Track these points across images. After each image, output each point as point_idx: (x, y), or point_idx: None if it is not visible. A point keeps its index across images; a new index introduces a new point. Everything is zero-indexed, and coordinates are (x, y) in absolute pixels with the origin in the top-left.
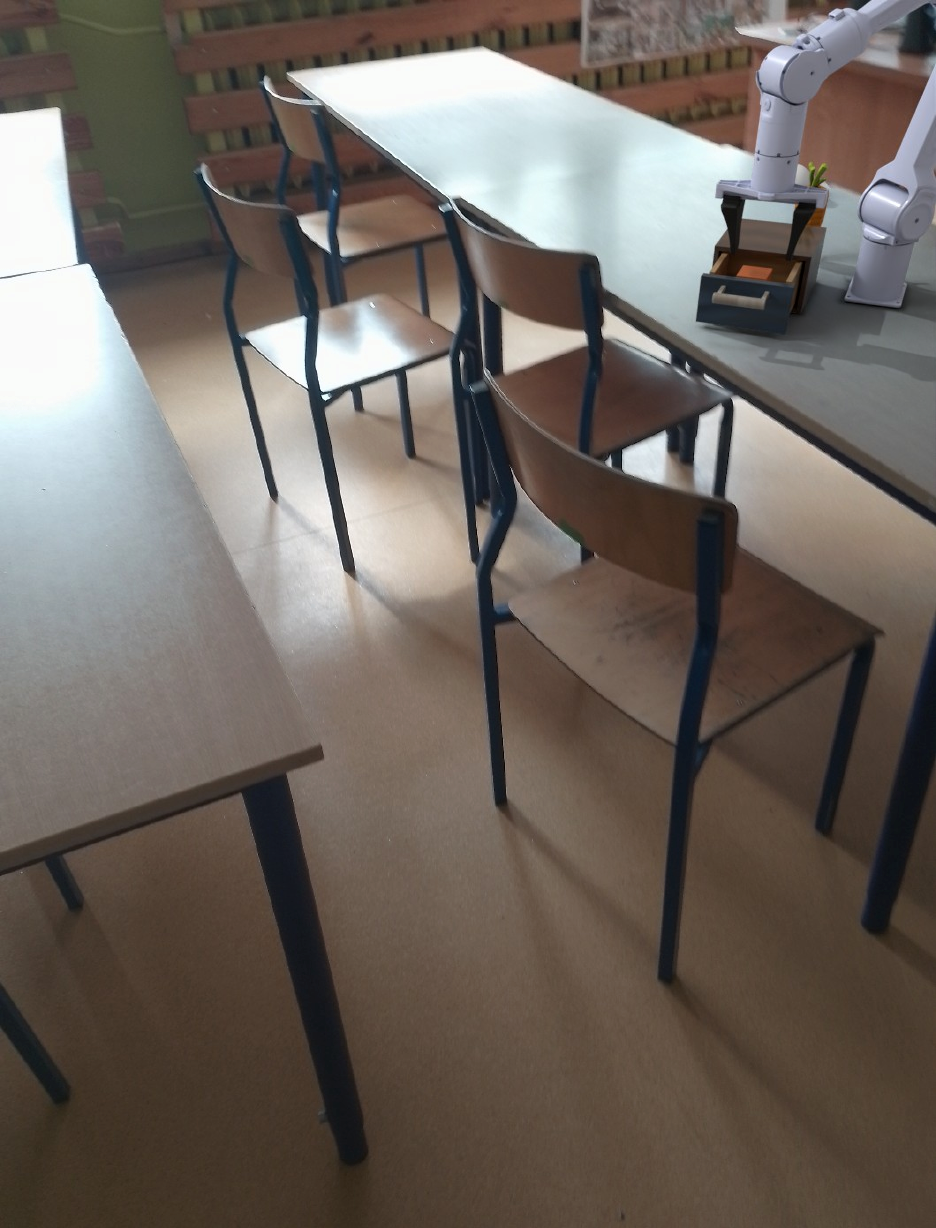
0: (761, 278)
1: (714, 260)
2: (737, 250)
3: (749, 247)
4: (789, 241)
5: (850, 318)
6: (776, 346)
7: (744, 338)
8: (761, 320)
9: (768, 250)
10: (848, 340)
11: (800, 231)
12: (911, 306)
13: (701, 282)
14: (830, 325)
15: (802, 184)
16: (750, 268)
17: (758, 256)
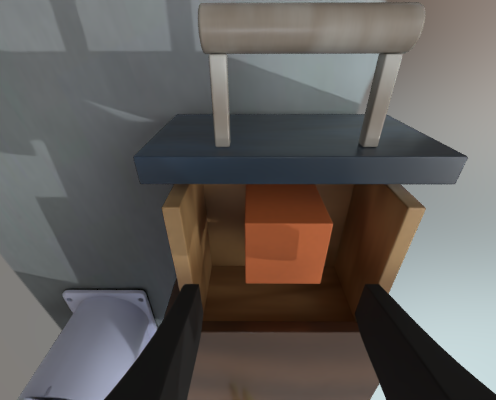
0: (260, 224)
1: None
2: (356, 309)
3: (318, 342)
4: (177, 343)
5: (111, 244)
6: (183, 72)
7: (262, 91)
8: (232, 121)
9: (269, 338)
10: (68, 159)
11: (113, 397)
12: (57, 300)
13: (448, 147)
14: (127, 210)
15: None
16: (299, 271)
17: None
